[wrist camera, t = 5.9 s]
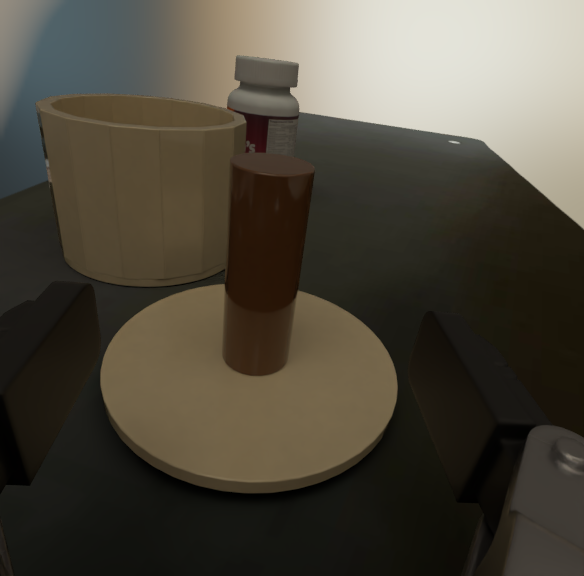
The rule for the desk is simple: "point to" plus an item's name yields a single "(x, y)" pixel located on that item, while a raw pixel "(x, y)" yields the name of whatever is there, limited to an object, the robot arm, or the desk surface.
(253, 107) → the pill bottle
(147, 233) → the canister
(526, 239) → the desk surface
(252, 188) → the lid
